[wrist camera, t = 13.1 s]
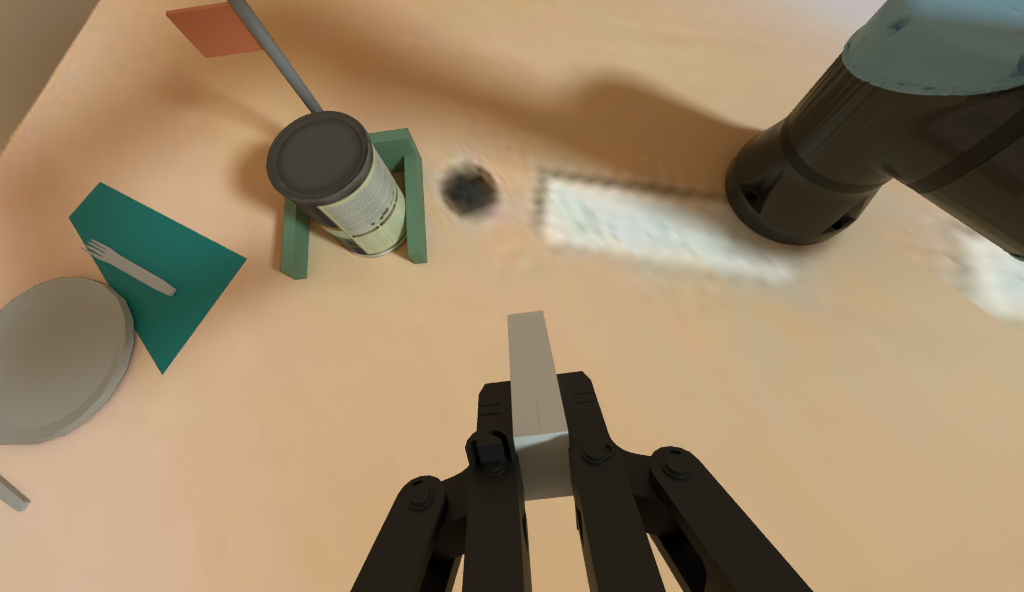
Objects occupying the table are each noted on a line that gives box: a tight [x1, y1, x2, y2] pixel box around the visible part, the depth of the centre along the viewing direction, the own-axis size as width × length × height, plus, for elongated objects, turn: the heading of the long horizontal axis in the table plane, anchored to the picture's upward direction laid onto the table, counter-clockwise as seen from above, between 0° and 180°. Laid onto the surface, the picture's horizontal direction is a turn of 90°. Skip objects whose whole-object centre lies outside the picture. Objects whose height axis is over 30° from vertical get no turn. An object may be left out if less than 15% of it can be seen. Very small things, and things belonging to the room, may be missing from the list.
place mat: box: [0, 182, 246, 512], centre depth 48 cm, size 45×30×2 cm
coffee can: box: [266, 111, 407, 258], centre depth 44 cm, size 10×10×14 cm
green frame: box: [166, 0, 427, 280], centre depth 40 cm, size 16×17×24 cm
